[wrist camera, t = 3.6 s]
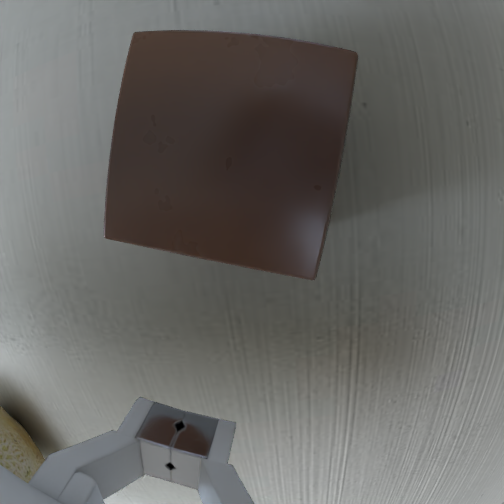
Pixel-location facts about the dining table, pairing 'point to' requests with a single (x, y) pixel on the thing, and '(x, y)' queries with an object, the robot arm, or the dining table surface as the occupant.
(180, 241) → the walnut block
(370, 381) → the dining table surface
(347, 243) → the dining table surface
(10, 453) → the cantaloupe
